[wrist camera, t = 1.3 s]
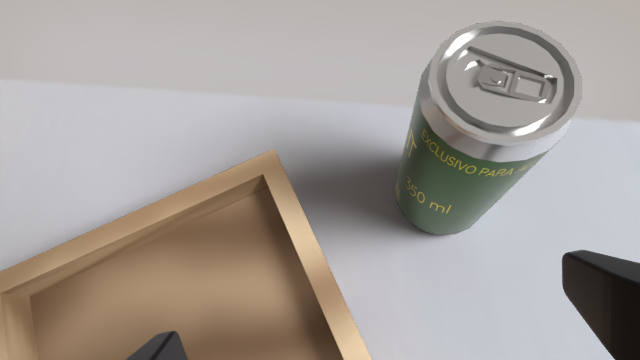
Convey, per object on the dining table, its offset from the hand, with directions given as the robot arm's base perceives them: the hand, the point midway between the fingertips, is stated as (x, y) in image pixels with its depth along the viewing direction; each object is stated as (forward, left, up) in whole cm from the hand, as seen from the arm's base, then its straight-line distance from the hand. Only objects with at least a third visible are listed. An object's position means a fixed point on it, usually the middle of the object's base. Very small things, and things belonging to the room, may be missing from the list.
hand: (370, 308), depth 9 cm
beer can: (+5, -8, -14) cm, 17 cm away
